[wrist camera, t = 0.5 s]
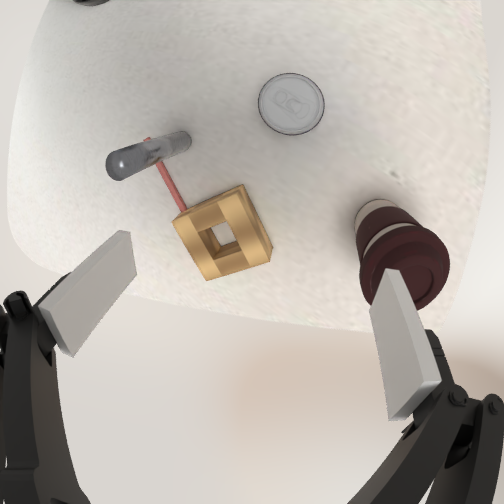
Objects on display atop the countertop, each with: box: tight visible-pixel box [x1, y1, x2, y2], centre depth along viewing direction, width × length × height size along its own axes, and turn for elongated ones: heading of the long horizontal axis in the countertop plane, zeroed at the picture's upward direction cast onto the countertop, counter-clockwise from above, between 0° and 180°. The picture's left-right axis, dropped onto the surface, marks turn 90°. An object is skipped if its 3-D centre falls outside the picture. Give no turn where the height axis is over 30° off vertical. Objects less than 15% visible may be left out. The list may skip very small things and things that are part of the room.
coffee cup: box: [355, 200, 450, 311], centre depth 29 cm, size 10×10×15 cm
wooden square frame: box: [172, 185, 273, 281], centre depth 38 cm, size 10×10×4 cm
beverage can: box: [258, 73, 324, 135], centre depth 25 cm, size 6×6×12 cm
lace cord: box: [143, 137, 187, 213], centre depth 37 cm, size 12×1×1 cm, turn 25°
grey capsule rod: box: [106, 132, 191, 181], centre depth 28 cm, size 3×3×15 cm
